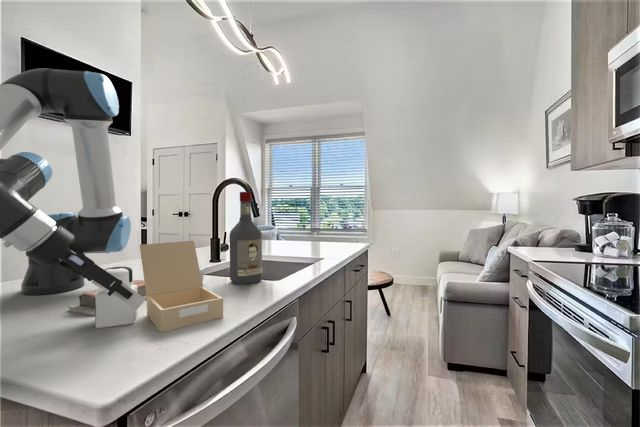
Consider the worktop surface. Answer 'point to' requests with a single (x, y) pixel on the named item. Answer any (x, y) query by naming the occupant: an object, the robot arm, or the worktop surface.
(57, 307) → the worktop surface
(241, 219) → the liquor
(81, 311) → the packaged product
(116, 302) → the medicine bottle
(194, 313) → the mailer
